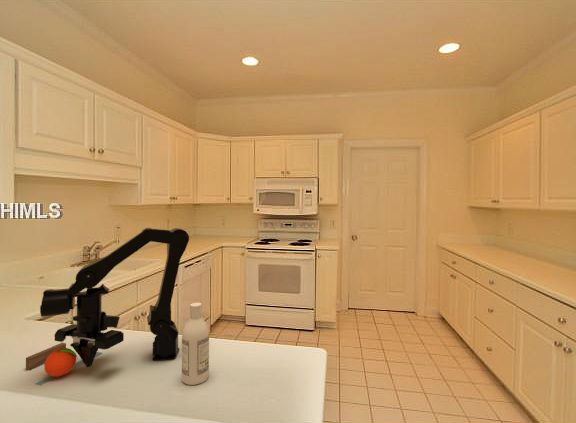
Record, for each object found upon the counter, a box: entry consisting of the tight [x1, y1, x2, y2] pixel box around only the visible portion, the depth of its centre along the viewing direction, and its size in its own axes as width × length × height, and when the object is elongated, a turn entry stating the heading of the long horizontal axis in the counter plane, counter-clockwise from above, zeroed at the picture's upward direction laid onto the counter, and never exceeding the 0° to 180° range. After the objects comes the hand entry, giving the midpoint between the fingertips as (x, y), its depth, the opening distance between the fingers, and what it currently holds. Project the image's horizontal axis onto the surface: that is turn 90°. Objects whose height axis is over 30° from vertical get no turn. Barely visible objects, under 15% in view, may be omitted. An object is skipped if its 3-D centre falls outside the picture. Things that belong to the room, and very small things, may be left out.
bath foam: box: [181, 302, 210, 386], centre depth 80 cm, size 7×7×20 cm
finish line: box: [34, 351, 103, 386], centre depth 85 cm, size 2×18×1 cm, turn 163°
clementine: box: [43, 347, 79, 378], centre depth 81 cm, size 8×7×7 cm
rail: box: [25, 342, 67, 371], centre depth 88 cm, size 2×10×4 cm, turn 163°
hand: (89, 366), depth 83 cm, fingers closed
